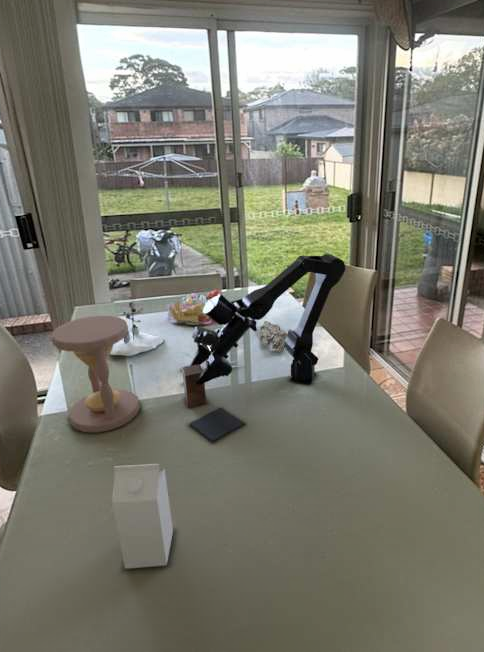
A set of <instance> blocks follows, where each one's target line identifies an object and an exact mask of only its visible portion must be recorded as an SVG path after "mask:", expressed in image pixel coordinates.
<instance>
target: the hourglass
mask: <svg viewBox="0 0 484 652" xmlns="http://www.w3.org/2000/svg"><path fill="white" fill-rule="evenodd" d="M128 331H129V326H128V323H127V321H126V320H125V319H123V318H122V317H119V316H114V315H94V316H85V317H81V318H76V319H73V320H70V321H67V322H65V323H63V324H61V325H59V326H57V327H56V328H55V329H54V330H53V331H52V332H51V343H52V345H53V346H54V347H55V348H57V349H58V350H61V351H65V352H73V354H74V355H75V357H77V358H78V359H79V360H80V361H81V362H83V364H85V365H86V366H87V367H88V368H87V376H88V379H89V382H90V384H91V389H92V393H90V394H88V395H86V396H84V397H83V398H81V399H79V400H77V401H76V402H75V403H74V404H73V405H72V407H71V408H70V410H69V412H68V420H69V423H70V425H71V426H72V428H74V429H75V430H78V431H79V432H83V433H93V434H95V433H97V434H98V433H103V432H109V431H111V430H115V429H117V428H120V427H122V426H124V425H126V424H127V423H129V422H131V421H132V420H133V419H134V418H135V417H136V416H137V415H138V412H139V410H140V407H141V405H140V400H139V397H138V395H136V394H135V393H134V392H132V391H130V390H126V389H118V388H117V389H116V388H112V387H111V385H110V383H109V377H110V368H109V364H108V361H107V360H108V359H109V357H110V355H111V354H110V353H111V351H112V349H113V344H115V343H117V342H119V341H120V340H122V339H123V338H124V337H125V336H126V335H127V333H128Z"/></svg>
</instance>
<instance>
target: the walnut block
mask: <svg viewBox="0 0 484 652" xmlns="http://www.w3.org/2000/svg"><path fill="white" fill-rule="evenodd" d="M201 367H202V366H201V364H198V365H193V366H187V367H183V366H181V372H182V373H181V374H182V384H183V383H184V384H183V389H184V390H183V391H184V392H183V393H184V399H185V402H186V405H187V408H194V407H198V406H202V405H206V404H207V397H206V386H205V383H203V384H201V385H197V384H196V381H197V380H198V378H199V377H200V375H201V374H202V372H203V371H204V370H202V368H201Z"/></svg>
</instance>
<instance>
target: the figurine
mask: <svg viewBox="0 0 484 652" xmlns="http://www.w3.org/2000/svg"><path fill="white" fill-rule="evenodd" d="M128 307H129V308H130V312H127V311H122V313H123V314H121V316H125V319H128V320H131V322H132V324H131V325H132V327H131V328H130V330H128V333H127V335H126V336H125V337H124V338H123V339H122V340H120V341H119V342H117V343H115V344H113V349H112V351H111V353H110V355H112V356H127V357H128V356H135V355H137V354H139V353H145V352H149V351H150V350H152V349H156V348H157V347H158V346H159V345H161V344H162V343H163V342H164V339H162V338H161V337H160V336H159V335H152V334H149V333H145V332H140V329H139V327H138V326H137V325H136V324H135V323H141V320H140V319H138V320H135V319H134V316H135V315H137V314H141V313H142V311H143V309H144V308H141V309H139V310H137V309H136V304H134V302H133V301H129V302H128ZM130 332H131V334H130Z"/></svg>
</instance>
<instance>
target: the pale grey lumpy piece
mask: <svg viewBox="0 0 484 652" xmlns="http://www.w3.org/2000/svg"><path fill="white" fill-rule="evenodd" d="M268 328H269V330H268ZM259 329H260V338H261V344H262V346H261V347H262V349H264V348H265V347H266V345H267V344H268V343H269V351H271V352H272V351H273V352H276V353H281V354H283V352H284V351H285V350H286V348H285V341H284V340H285V339H286V337H287V334H288V332H285V331H282V330H281V329H280V326H279V325H277V324H274V323H272V322H270V321H267V320H265V321H264V322H263V324H262V325H261V326H260V327H259ZM269 339H272V341H270V342H269Z"/></svg>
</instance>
